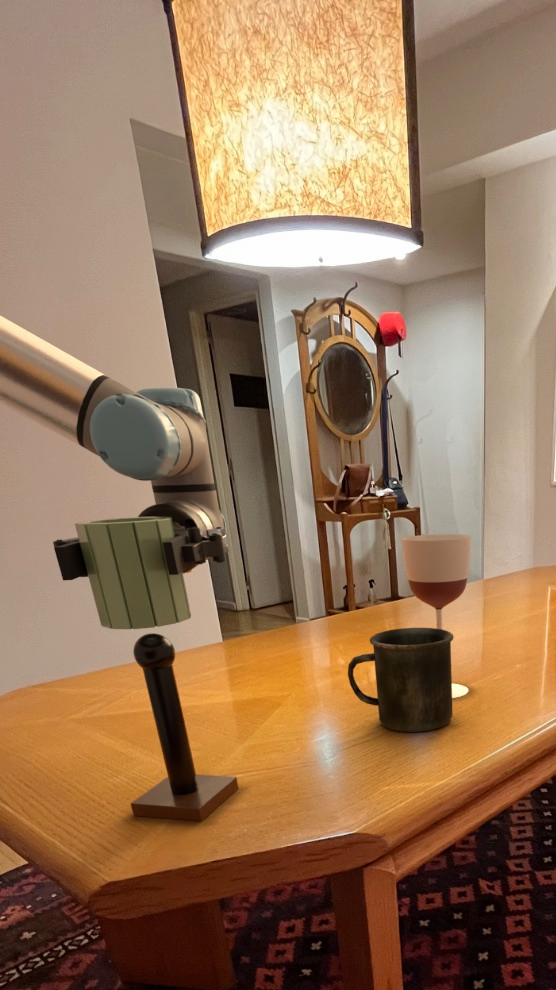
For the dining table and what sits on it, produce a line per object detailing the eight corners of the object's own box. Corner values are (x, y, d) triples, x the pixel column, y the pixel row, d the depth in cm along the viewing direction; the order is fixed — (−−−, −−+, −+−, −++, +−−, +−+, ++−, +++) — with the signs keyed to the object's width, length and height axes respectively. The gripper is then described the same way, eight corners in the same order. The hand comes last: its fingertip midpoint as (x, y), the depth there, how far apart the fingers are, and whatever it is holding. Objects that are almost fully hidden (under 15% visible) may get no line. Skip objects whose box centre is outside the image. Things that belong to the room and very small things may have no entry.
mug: (462, 730, 91) (460, 642, 86) (355, 740, 89) (346, 650, 84) (448, 705, 101) (445, 625, 96) (350, 714, 99) (342, 632, 93)
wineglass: (475, 698, 104) (473, 539, 94) (410, 701, 103) (402, 541, 93) (469, 681, 112) (467, 533, 102) (409, 683, 112) (401, 535, 101)
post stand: (133, 816, 71) (86, 642, 63) (175, 784, 78) (138, 624, 70) (201, 821, 70) (163, 644, 61) (238, 788, 77) (208, 625, 68)
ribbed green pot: (83, 628, 62) (55, 524, 58) (136, 611, 69) (114, 517, 65) (160, 630, 61) (136, 523, 57) (206, 612, 68) (188, 515, 64)
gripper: (271, 566, 81) (248, 598, 61) (89, 575, 79) (2, 612, 59) (262, 498, 78) (233, 509, 58) (71, 506, 76) (-28, 519, 55)
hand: (117, 561), depth 58 cm, fingers closed on ribbed green pot, 8 cm apart
